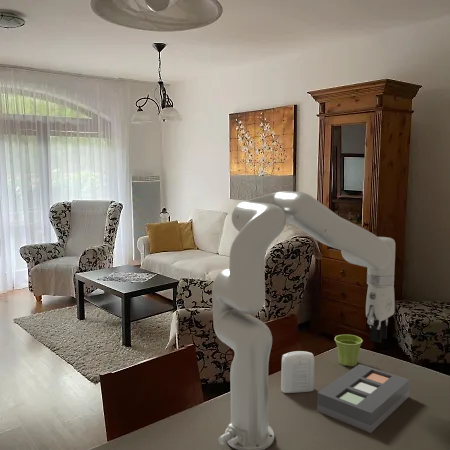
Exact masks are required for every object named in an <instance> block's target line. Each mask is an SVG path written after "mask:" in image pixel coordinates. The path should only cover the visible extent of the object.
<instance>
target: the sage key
mask: <svg viewBox="0 0 450 450" xmlns="http://www.w3.org/2000/svg"><path fill="white" fill-rule="evenodd" d="M340 399H342V400H345V401H348V402H350V403H353V404H356V405H357V404H358V403H360V402H361V401H362V400H363V399H364V398H363V397H360V396H357V395H355V394H352V393H349V392H346V393H345V394H344V395H342V396H341V397H340Z"/></svg>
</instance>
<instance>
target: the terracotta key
mask: <svg viewBox="0 0 450 450" xmlns="http://www.w3.org/2000/svg"><path fill="white" fill-rule="evenodd" d="M366 378H367V379H370V380H373V381H376V382H379V383H382V384H383V383H384V382H385V381H387V380H388V379H389V378H387V377H384V376H380V375H377V374H374V373H372V374H370V375H369V376H368V377H366Z"/></svg>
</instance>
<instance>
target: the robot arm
mask: <svg viewBox="0 0 450 450" xmlns="http://www.w3.org/2000/svg"><path fill="white" fill-rule="evenodd" d="M231 223H232V225H233V227H234V229H235V230H237V231H238V234H237V235H236V236H235V238H234V240H233V241H232V243H231V247H230V250H229V261H228V263H229V268H225V269H222V270H221V271H220V272H219V273H218V274H217V275H216V276H215V278H214V280H213V283H212V289H211V298H212V299H211V301H212V320H213V330H214V332H215V335H216V337H217V338H218V339H219V340H220V341H221V342H222V343H223V344H225V345H226V346H228V347H229V348H230V349H232V350H233V352H234V356H233V360H232V361H231V365H230V369H229V370H230V372H229V380H230V423H228V426H227V428H225V432H224V433H223V434H221V435H220V436H218V438H217V441H218V443H219V444H220V445H221V446H223V445H225V444H226V443H227V444H228V446H230V447H231V448H232V449H235V450H266V449H268V448H269V447H271V445H272V444H273V443H274V440H275V431H274V429H272V427H271V426H270V425H269V365H270V364H269V361H270V354H271V349H272V345H273V336H272V331H271V330H270V328H269V327H268V325H267V324H266V323H265V322H264V321H262V320H260V319H259V318H257V317H256V316H253V315H255V314H257V313H259V312H260V311H261V310H262V309H263V307H264V305H265V302H266V301H265V300H266V278H265V277H266V276H265V261H266V260H265V257H266V254H267V251H268V248H269V247H270V246H271V244H272V243H273V242H274V241H275V240H276V239H277V238H278V237H279V236H280V235H281V233H282V232H283V231H284V230H285V227H286V224H290V225H292V226H293V225H294V226H295V227H297V228H299V229H300V230H302V231H303V232H304V233H306V234H308V235H309V236H310V237H311V238H313V239H314V240H316V241H317V242H319V243H321V244H323V245H325V246H328V247H329V248H330V247H331V248H333V249H335V250H336V249H337V250H339V251H341V252H340V253H341V257H342V258H343V259H344V260H345V261H346V262H348V263H349V264H352V265H356V266H361V267H363V268H367V272H366V284H367V292H366V298H365V299H366V300H365V317H366V318H367V320H366V321H367V322H366V323H367V324H368V325H369V328H370V332H369V334H370V335H369V341H371V342H374V343H378V344H379V343H381V342H382V340H387V338H388V336H387V335H388V324H389V318H390V317H392V316H393V315H394V314H395V311H396V310H395V307H396V305H395V287H394V285H395V268H396V267H395V266H396V265H395V264H396V263H395V262H396V242H395V239H393V238H392V237H388V236H387V237H386V236H377V235H376V234H374V233H373V232H370V231H369V230H368V229H365V228H363V227H361V226H359V225H357V224H355V223H353V222H351V221H349V220H347V219H345V218H343V217H342V216H340V215H338V214H336V212H334V211H333V210H331V209H330V208H328V207H327V206H326V205H324V204H323V203H321V202H320V201H319V200H317V199H316V198H315V197H313V196H312V195H310V194H308V193H305V192H302V191H292V190H291V191H290V190H281V191H277V192H272V193H268V194H265V195H262V196H258V197H254V198H251V199H248V200H244V201H241V202H239V203H238V204H237V205H236V206H235V207H234V209H233V211H232V214H231Z"/></svg>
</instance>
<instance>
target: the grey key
mask: <svg viewBox="0 0 450 450" xmlns="http://www.w3.org/2000/svg"><path fill="white" fill-rule="evenodd" d="M353 388H355V389H358V390H361V391H364V392H367V393H370V394H371V393H372V392H373V391H374V390H376V389H377V387H374V386H371V385H368V384H365V383H362V382H360V383H358V384H357V385H356V386H354V387H353Z"/></svg>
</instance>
